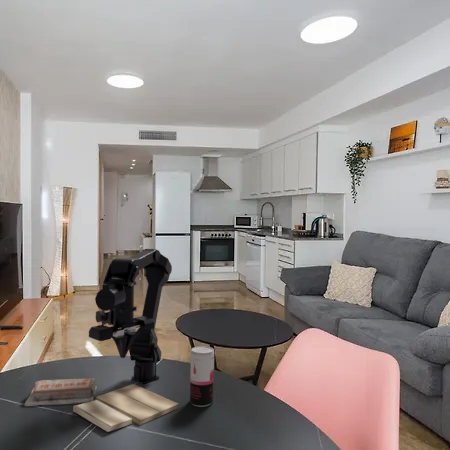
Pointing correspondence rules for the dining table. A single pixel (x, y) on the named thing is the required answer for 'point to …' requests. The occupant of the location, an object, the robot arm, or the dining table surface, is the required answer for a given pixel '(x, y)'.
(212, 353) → the beverage can
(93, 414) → the plank
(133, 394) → the laid floor
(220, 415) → the dining table surface
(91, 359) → the dining table surface
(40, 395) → the packaged product
